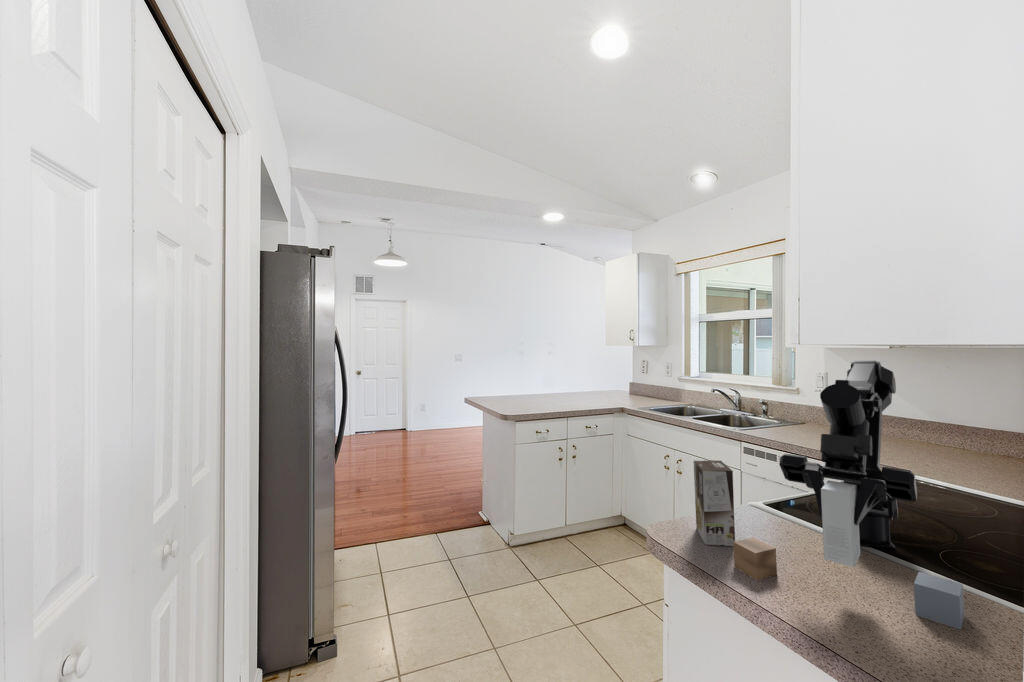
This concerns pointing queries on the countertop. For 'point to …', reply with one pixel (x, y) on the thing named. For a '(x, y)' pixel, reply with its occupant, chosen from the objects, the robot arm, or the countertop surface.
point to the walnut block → (755, 558)
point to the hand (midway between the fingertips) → (838, 520)
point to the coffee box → (714, 502)
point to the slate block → (939, 600)
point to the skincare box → (840, 523)
